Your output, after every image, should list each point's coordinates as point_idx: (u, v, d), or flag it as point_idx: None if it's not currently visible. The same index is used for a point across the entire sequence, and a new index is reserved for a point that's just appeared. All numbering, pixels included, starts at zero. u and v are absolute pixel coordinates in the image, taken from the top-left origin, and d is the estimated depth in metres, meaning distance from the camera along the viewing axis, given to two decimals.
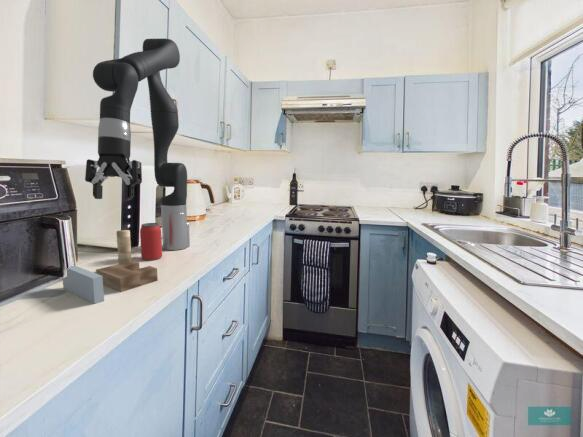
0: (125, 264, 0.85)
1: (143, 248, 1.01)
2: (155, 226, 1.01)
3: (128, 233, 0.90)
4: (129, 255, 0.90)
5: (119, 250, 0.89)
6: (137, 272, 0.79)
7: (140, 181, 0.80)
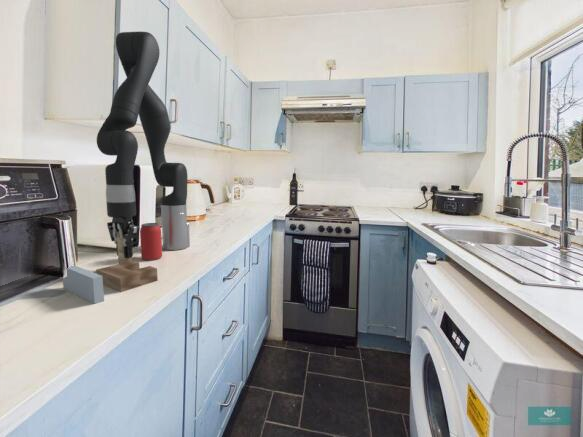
0: (125, 264, 0.85)
1: (143, 248, 1.01)
2: (155, 226, 1.01)
3: None
4: None
5: (119, 250, 0.89)
6: (137, 272, 0.79)
7: (134, 243, 0.88)
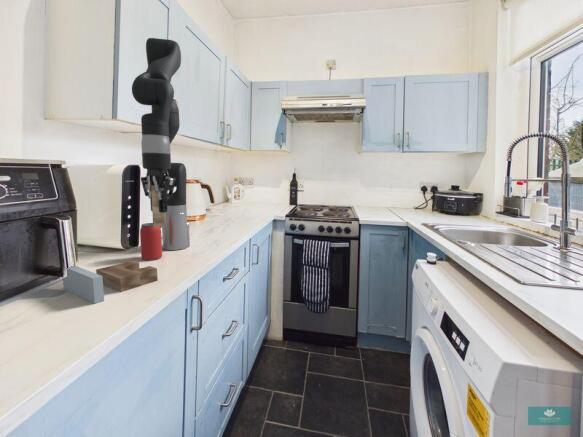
0: (125, 264, 0.85)
1: (143, 248, 1.01)
2: None
3: (163, 187, 0.87)
4: None
5: (154, 204, 0.87)
6: (137, 272, 0.79)
7: (170, 196, 0.86)
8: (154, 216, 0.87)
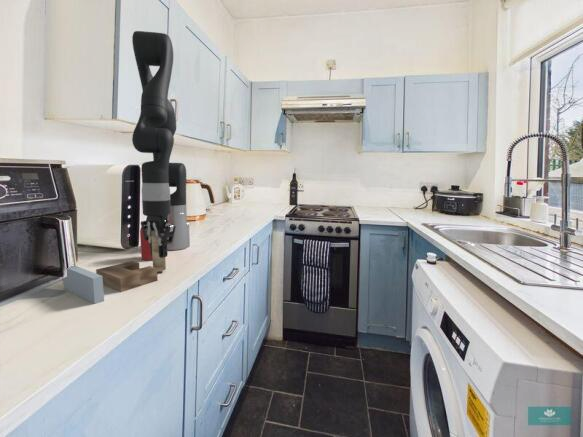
0: (125, 264, 0.85)
1: (143, 248, 1.01)
2: None
3: None
4: None
5: (154, 249, 0.87)
6: (137, 272, 0.79)
7: (170, 242, 0.87)
8: (154, 261, 0.88)
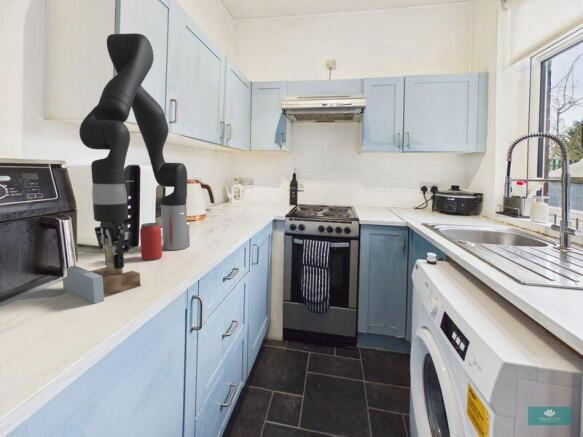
0: None
1: (143, 248, 1.01)
2: (155, 226, 1.01)
3: None
4: None
5: (108, 260, 0.77)
6: (118, 277, 0.75)
7: (126, 251, 0.76)
8: (109, 273, 0.77)
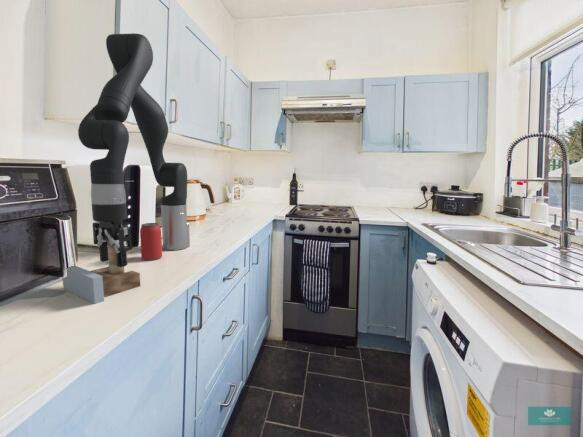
0: (107, 268, 0.81)
1: (143, 248, 1.01)
2: (155, 226, 1.01)
3: None
4: (122, 268, 0.79)
5: (110, 262, 0.77)
6: (118, 277, 0.75)
7: (129, 248, 0.74)
8: None
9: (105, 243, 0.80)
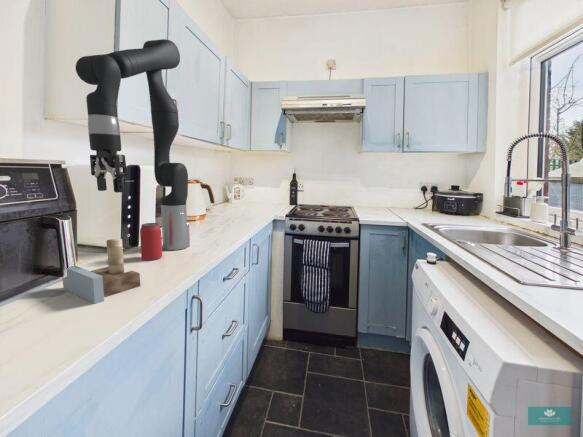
0: (107, 268, 0.81)
1: (143, 248, 1.01)
2: (155, 226, 1.01)
3: (120, 242, 0.78)
4: (121, 268, 0.79)
5: (109, 262, 0.77)
6: (118, 277, 0.75)
7: (124, 174, 0.83)
8: None
9: (102, 174, 0.88)
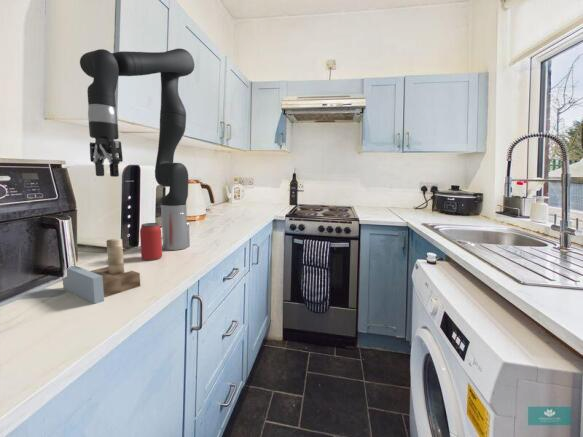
0: (107, 268, 0.81)
1: (143, 248, 1.01)
2: (155, 226, 1.01)
3: (120, 242, 0.78)
4: (121, 268, 0.79)
5: (109, 262, 0.77)
6: (118, 277, 0.75)
7: (120, 159, 0.89)
8: None
9: (100, 160, 0.95)
